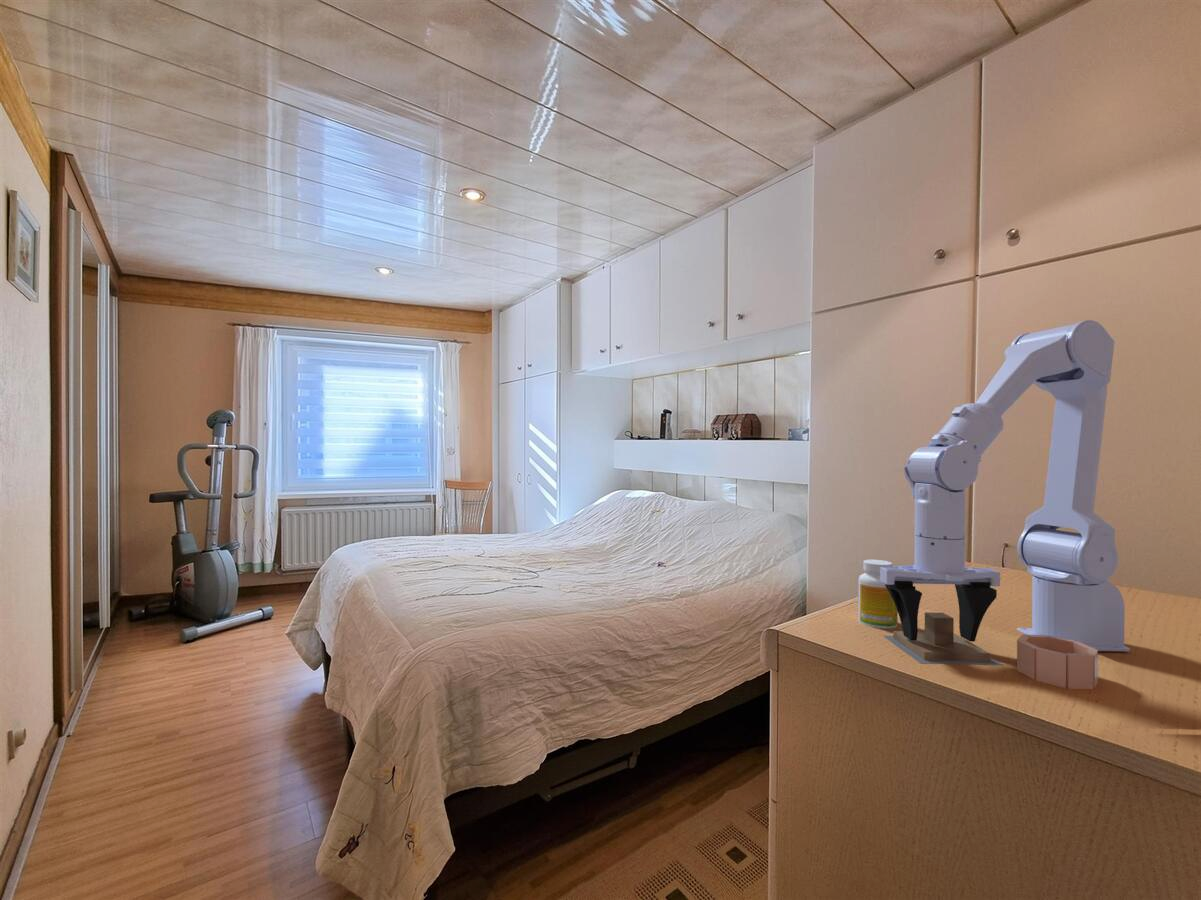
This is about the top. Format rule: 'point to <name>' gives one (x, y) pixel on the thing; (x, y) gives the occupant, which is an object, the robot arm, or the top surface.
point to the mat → (920, 660)
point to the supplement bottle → (875, 597)
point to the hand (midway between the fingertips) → (938, 638)
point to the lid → (941, 641)
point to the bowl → (1057, 661)
